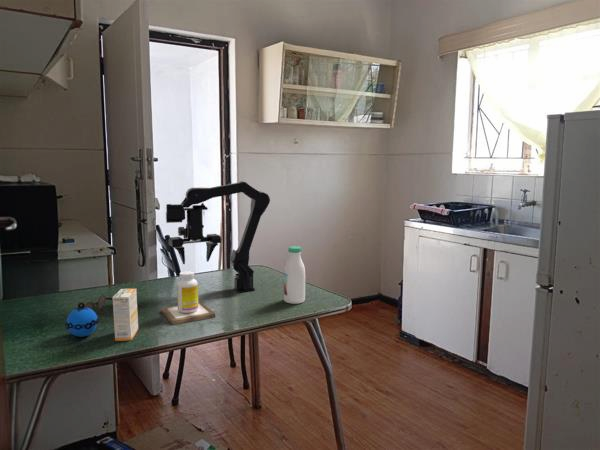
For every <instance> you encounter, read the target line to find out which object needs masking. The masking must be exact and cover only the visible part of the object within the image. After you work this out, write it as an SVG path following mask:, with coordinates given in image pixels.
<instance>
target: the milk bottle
mask: <svg viewBox="0 0 600 450" xmlns="http://www.w3.org/2000/svg"><path fill="white" fill-rule="evenodd" d="M287 250H288V253H287V254H288V258H287V260H286V263H285V266H284V270H283V301H284V302H285V303H288V304H293V305H297V304H298V305H299V304H301V303H304V302H305V300H306V268H305V264H304V262H303V260H302V257H301V254H302V247H301V246H299V245H298V246H297V245H292V246H288V249H287Z"/></svg>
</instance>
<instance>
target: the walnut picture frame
mask: <svg viewBox="0 0 600 450" xmlns="http://www.w3.org/2000/svg"><path fill="white" fill-rule="evenodd" d="M160 312H161V313H162V315H163V316H164V317H165V318H166V319H167V320H168V321H169V323H171V325H173V326H174V325H179V324H184V323H185V324H186V323H191V322H195V321H201V320H207V319H212V318H216V313H215V312H214V311H213V310H212V309H211V308H209V307H208V306H207V305H206V304H204V303H203V301H198V310H197V311H195V312H192V313H181V312H179V311H178V305H173V306H167V307H160Z"/></svg>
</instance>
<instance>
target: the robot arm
mask: <svg viewBox="0 0 600 450" xmlns="http://www.w3.org/2000/svg"><path fill="white" fill-rule="evenodd" d="M241 193H243V194H244V195H245V196H246V197H248V198H250V199H251V202H250V212H249V216H248V219H247V222H246V225H245V228H244V231H243V234H242V236H241V240H240V243H239V245H238V247H237V249H236V250H235V249H232V251H231V255H230V257H229V260H230V265H231V268H232V269H233V270H234V272H236V273H235V274H234V275H235V277H234V279H233V280H234V281H233V282H234V283H233V284H234V287H233V289H234V290H236V291H237V292H239V293H245V292H252V291H255V290H256V288H255V287H254V269H252V267H250V266H249V261H250V250H251V247H252V245H253V241H254V237H255V235H256V232H257V229H258V226H259V223H260V220H261V217H262V215H264V213H265V212H266V211H267V208H268V206H269V204H270V203H271V202H270V201H271V198H270V196H269V194H268V193H266V192H264V191H260V190H258V189H255V188H254V186H251V185H250V184H249V183H248V182H246V181H243V180H242V181H239V182H234V183H229V184H223V185H219V186H212V187H190V188H188V189H187V191H186V193H185V197H184V199H183V201H181V203H180V204H171V203H166V208H165V209H166V211H165V221H166V224H170V223H171V224H172V223H173V224H175V223H183V221H185V220H186V224H185V226H179V227H177V233H178V236H172V237H170V238H168V240H167V241H168V246H170V247H171V248H174V249H176V251H177V253H178V255H179V258H180V260H181V262H182V265H185V264H186V255H185V253H186V252H185V247H184V246H183V245H186V244H196V243H197V244H198V243H205V244H206V256H205V258H206V262H208V263H209V261H210V259H211V257H212V254H213V252H214V250H215V248H216V246H219V244H221V243H222V237H221V236H220V234H217V233H207V234H206V236H204V228H205V227H204V226H205V225H204V223H203V221H204V220H203V217H204V216H203V211H205V210H206V211H207V210H208V207H207V206H206V205H205V203H204V202H206V201H209V200H211V199H214V198H218V197H225V196H228V195H234V194H241ZM191 206H192V207H191ZM181 236H182V237H183V238H182V237H181Z"/></svg>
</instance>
